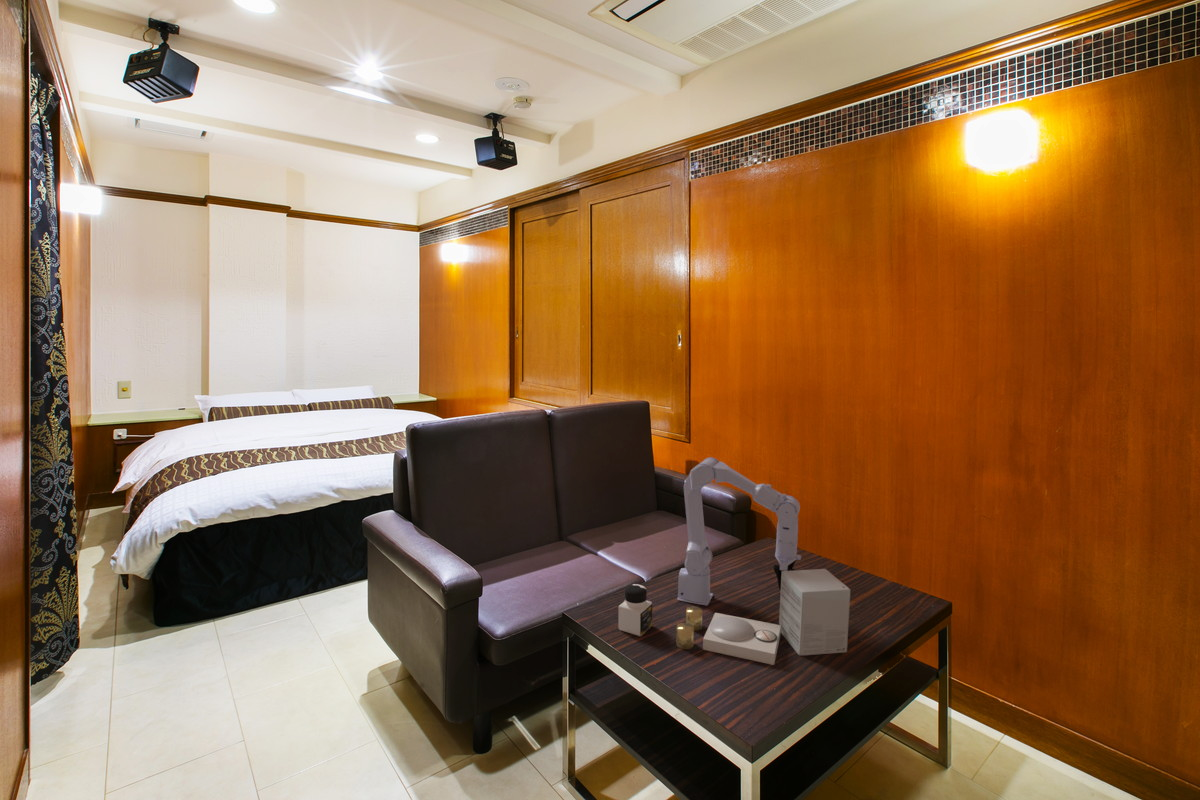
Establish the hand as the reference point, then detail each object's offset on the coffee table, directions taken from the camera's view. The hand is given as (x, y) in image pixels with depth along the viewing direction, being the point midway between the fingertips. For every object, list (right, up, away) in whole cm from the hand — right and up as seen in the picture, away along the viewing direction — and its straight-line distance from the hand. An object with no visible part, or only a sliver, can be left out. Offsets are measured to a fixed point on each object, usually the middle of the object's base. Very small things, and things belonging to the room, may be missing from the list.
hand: (784, 584), depth 169 cm
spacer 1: (-31, -12, -13) cm, 36 cm away
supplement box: (+4, -12, -11) cm, 17 cm away
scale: (-15, -12, -12) cm, 23 cm away
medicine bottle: (-43, -11, -5) cm, 45 cm away
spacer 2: (-27, -11, -4) cm, 29 cm away
